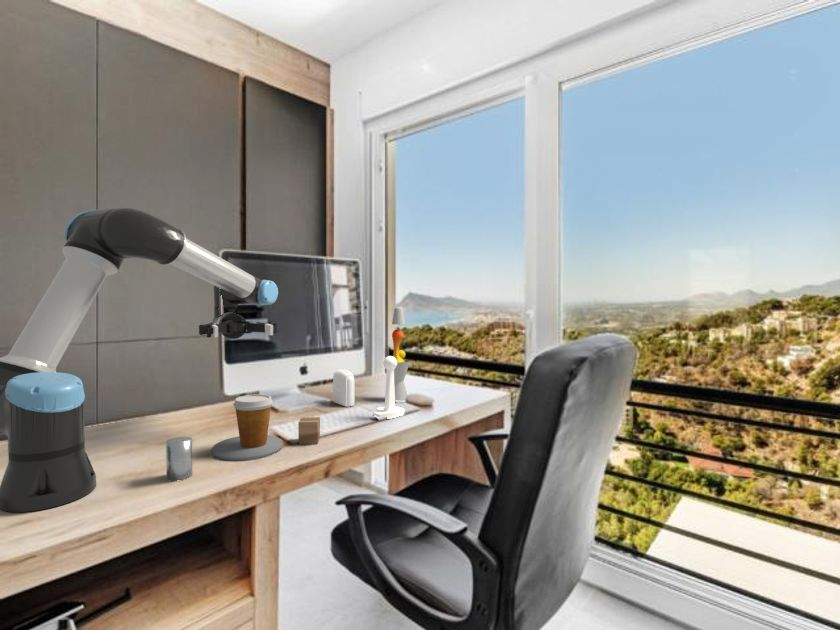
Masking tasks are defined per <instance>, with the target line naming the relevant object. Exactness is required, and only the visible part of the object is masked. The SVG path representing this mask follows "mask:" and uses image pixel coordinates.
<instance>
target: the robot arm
mask: <svg viewBox="0 0 840 630" xmlns="http://www.w3.org/2000/svg"><path fill="white" fill-rule="evenodd" d="M63 235H64V238H65V244H64V246H63V247H62V249H61V251H62V253H63V255H64V258H65V260H64V261H63V263H62V265H61V266H60V268H59V269H58V272H56V275H55V276H54V278H53V280H52V281H51V283H50V284H49V286H48V288H47V290H46V291H45V293H44V294H43V296H42V298H41V299H40V301H39V303H38V304H37V306H36V308H35V309H34V311H33V312H32V314H31V315H30V318H29V319H28V321H27V323H26V324H25V326H24V328H23V329H22V331H21V333H20V334H19V336H18V337H17V339H16V341H15V343H14V345H12V348H11V349H10V351H9V353H8V354H5V355H4V356H1V357H0V435H1V436H5V437H7V453H8V454H7V456H8V457H7V458H8V460H7V461H8V463H7V466H6V468H5V470H4V473H3V476H2V479H1V482H0V510H1V511H4V512H9V513H27V512H34V511H40V510H41V511H42V510H46V509H51V508H55V506H56V507H58V506H63V505H66V504H68V503H72V502H74V501H77V500H79V499H81V498H83V497H85V496H87V495H89V494H91V492H93V491H95V489H96V487H97V475H96V472H95V470H94V467H93V465H92V462H91V460H90V458H89V455H88V454H87V451H86V444H85V443H86V441H85V399H86V394H85V390H84V384H83V382H82V379H80V378H79V377H78V376H76V375H74V374H71V373H68V372H67V373H65V372H57V371H56V370H57V366H58V365H59V364H60V362H61V359H62V358H63V356H64V354H65V353H66V350H67V348H68V347H69V345H70V343H71V342H72V340H73V338H74V336H75V334H76V332H77V330H78V329H79V327H80V326H81V323H82V322H83V320H84V318H85V317H86V315H87V313H88V311H89V309H90V308H91V305H92V303H93V301H94V299H95V298H96V296H97V294H98V293H99V291H100V289H101V287H102V285H103V284H104V281H105V280H106V278H107V277H108V276H111V275H115V274H117V273H118V271H119V270H120V268H121V267H122V264H123V263H124V262H125V261H124V260H125V259H135V258H136V259H143V260H150V261H152V262H155V263H158V264H160V265H162V266H169V265H171V266H173V267H176V268H177V269H180V270H182V271H183V272H186V273H188V274H191V276H194V277H197V278H199V279H201V280H202V281H205V282H207V283H209V284H211V285H213V286H212V287H213V318H212V322H209V323H204V324H199V325H198V335H201V336H203V335H206V338H212V337H214V338H219V333H221V334H220V335H222V336H224V337H225V338H227V339H228V340H236V339H240V338H242V337H243V336H244V335H245V334H252V333H264V334H266V335H268V336H274V333H278V323H275V322H274V323H272V321H271V320H270V321H267V322H259V321H254V322H252V321H251V320H250V321H248V320H246V319H245V317H244V316H243V315H241V314H240V315H239V314H236V313H233V312H234V311H235V309H237V307H238V304H240V305H248V306H249V305H250V306H252V305H253V306H271V305H273V304H274V303H276V301H277V300H278V296H279V289H278V286H277V284H276V283H275V282H274V281H273V280H267V279H260V278H258V277H256V276H254V275H252V274H250V273H248V272H246V271H245V270H244V269H241V268H239V267H238V266H236V265H234V264H232V263H231V262H229V261H227V260H225V259H223V258H222V257H220V256H218V255H216V254H215V253H213V252H211V251H210V250H208V249H206V248H204V247H202V246H201V245H199V244H197V243H195V242H193V241H191V239H189V238H186V237H187V236H186V234H185V232H184V231H182V230H181V229H180V228H177V227H175V226H174V225H172V224H170V223H169V222H166V221H165V220H163V219H161V218H159V217H157V216H154V215H152V214H150V213H148V212H145V211H142V210H141V209H140V210H139V209H137V208H131V207H119V208H110V209H90V210H86V211H84V212H81V213H78V214H76V215H75V216H73V217H72V218H71V219H69V221H68V223H67V224H66V226H65V229H64V234H63ZM217 287H219V288H221V289H220V292H219V288H217ZM219 293H220V296H221V295H222V299H223V305H224V307H225V308H226V309H228V311H229V312H226V313H224V314H222V315H220V316H219V310H218V308H219Z"/></svg>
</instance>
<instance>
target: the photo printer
mask: <svg viewBox="0 0 840 630" xmlns="http://www.w3.org/2000/svg"><path fill="white" fill-rule="evenodd" d="M355 382H356V380H355V375H354V374H353V373H352V372H350V371H349V370H347V369H339V370H338V369H337V370H336V371H335V372H334V373H333V378H332V385H333V386H332V400H333V403H334V404H338V405H340V406H344V407H346V408H348V407H349V408H350V406H351V407H353V406H355V403H356V402H355V401H356V400H355V393H356V392H355V389H356V388H355Z"/></svg>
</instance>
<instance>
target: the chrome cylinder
mask: <svg viewBox="0 0 840 630" xmlns="http://www.w3.org/2000/svg"><path fill="white" fill-rule="evenodd" d="M165 447H166V448H165V452H166V453H165V455H166V456H165V458H166V459H165V460H166V461H165V462H166V465H165V466H166V467H165V468H166V471H165V472H166V480H167V481H169V480H170V482H178V481H177V480H181V481H184V480H183V479H185V480H188V479H190V478H192V477H193V438H192V437H190V436H177V437H173V438H169V439H167V440H166V441H165ZM189 477H190V478H189ZM187 478H188V479H187Z"/></svg>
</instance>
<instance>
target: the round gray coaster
mask: <svg viewBox="0 0 840 630" xmlns="http://www.w3.org/2000/svg"><path fill="white" fill-rule="evenodd" d="M283 442H284V441H283V440H282V438H279V437H277V436H274V435H270V434H267V443H266V444H265V445H263V446H261V447H256V448H244V447H242V446H241V444H240V437H239V436H234V437H230V438H227V439H224V440H221V441H218V442H217V443H215V444H214V445H213V446H212V447H211V455H212V456H213V457H214V458H216V459H219V460H222V461H230V462H243V461H244V462H245V461H251V460H253V459H254V460H259V459H263V457H264V458H266V456H267V457H270V456H273V455H275V454H277V453H278V451H279V452H280V451H281V450H283V447H284V443H283ZM274 453H275V454H274ZM272 454H273V455H272ZM269 455H270V456H269Z"/></svg>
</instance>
